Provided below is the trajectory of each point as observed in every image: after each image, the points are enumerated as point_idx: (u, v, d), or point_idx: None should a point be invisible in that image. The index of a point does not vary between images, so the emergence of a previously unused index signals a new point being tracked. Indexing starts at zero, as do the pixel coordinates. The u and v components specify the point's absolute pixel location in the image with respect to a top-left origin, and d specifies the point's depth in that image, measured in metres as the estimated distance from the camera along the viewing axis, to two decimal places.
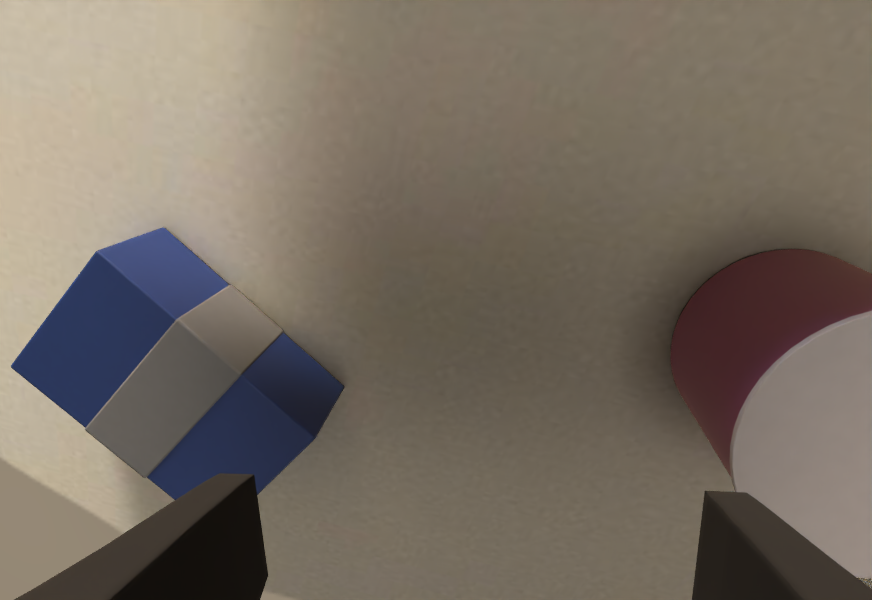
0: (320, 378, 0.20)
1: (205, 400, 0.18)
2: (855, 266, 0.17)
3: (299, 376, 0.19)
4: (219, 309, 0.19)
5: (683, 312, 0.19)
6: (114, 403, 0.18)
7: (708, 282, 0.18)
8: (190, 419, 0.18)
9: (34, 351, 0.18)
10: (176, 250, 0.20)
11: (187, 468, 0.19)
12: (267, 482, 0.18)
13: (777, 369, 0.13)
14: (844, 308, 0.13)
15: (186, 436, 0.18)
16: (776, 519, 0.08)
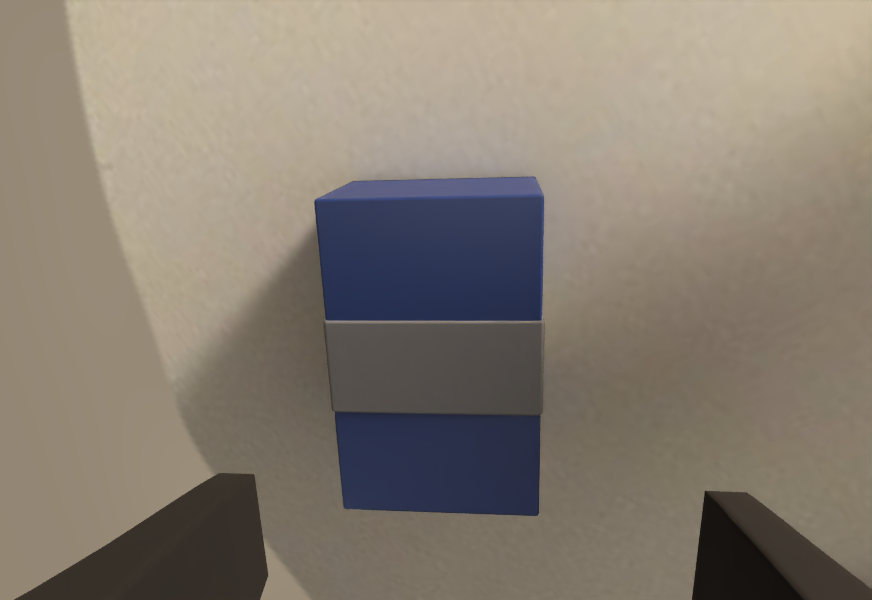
0: None
1: (479, 404, 0.14)
2: None
3: None
4: None
5: None
6: (384, 327, 0.14)
7: None
8: (443, 406, 0.15)
9: (360, 212, 0.13)
10: None
11: (387, 439, 0.15)
12: (448, 511, 0.15)
13: None
14: None
15: (421, 415, 0.15)
16: (775, 519, 0.08)
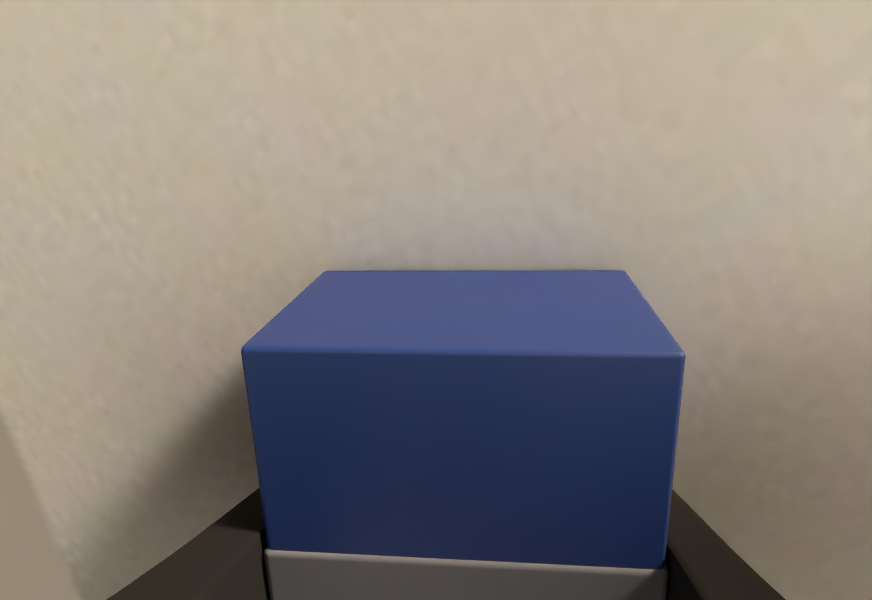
0: None
1: None
2: None
3: None
4: None
5: None
6: (374, 566, 0.08)
7: None
8: None
9: (327, 373, 0.07)
10: None
11: None
12: None
13: None
14: None
15: None
16: (691, 516, 0.08)
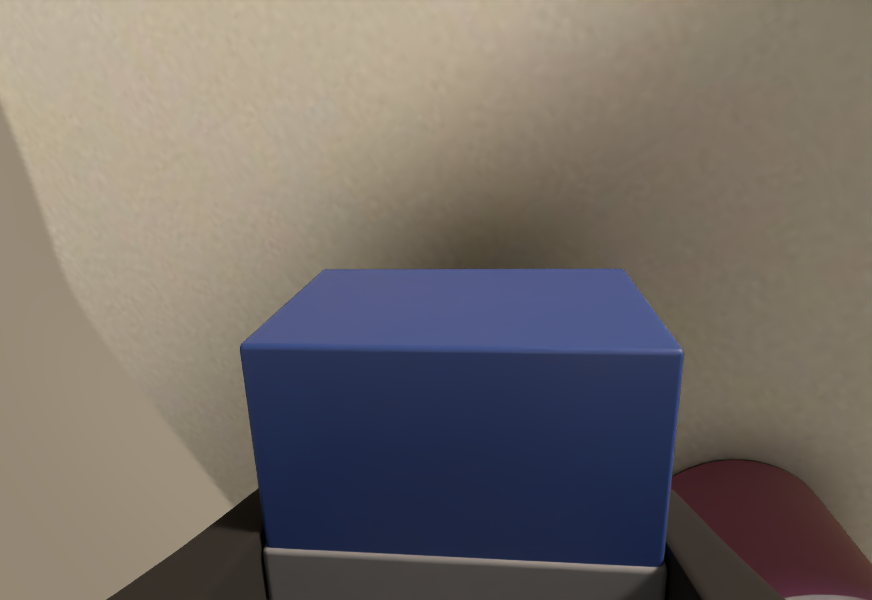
0: None
1: None
2: None
3: None
4: None
5: (701, 467, 0.20)
6: (372, 564, 0.08)
7: (739, 462, 0.19)
8: None
9: (326, 371, 0.07)
10: None
11: None
12: None
13: None
14: None
15: None
16: (692, 515, 0.08)
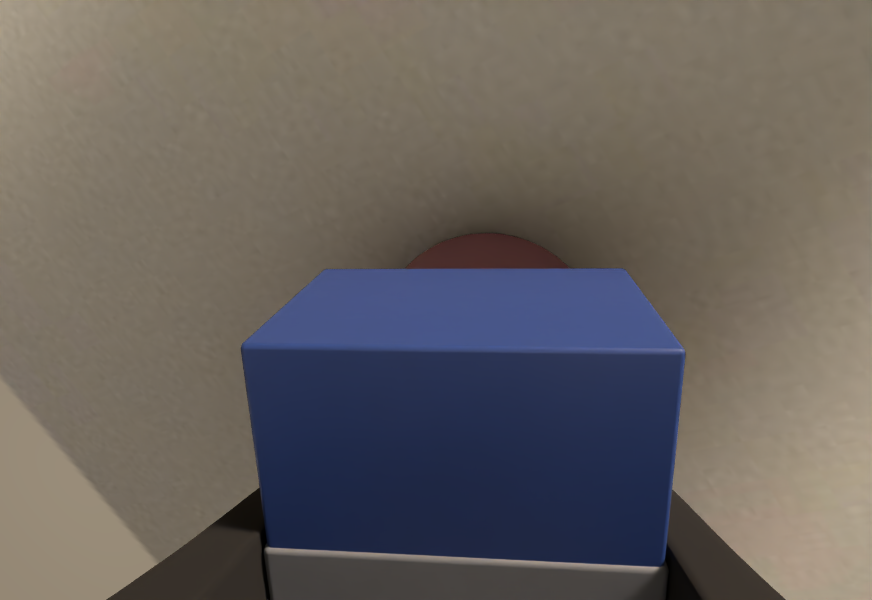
0: None
1: None
2: None
3: None
4: None
5: (442, 242, 0.17)
6: (373, 564, 0.08)
7: (482, 234, 0.17)
8: None
9: (327, 370, 0.07)
10: None
11: None
12: None
13: None
14: None
15: None
16: (691, 516, 0.08)
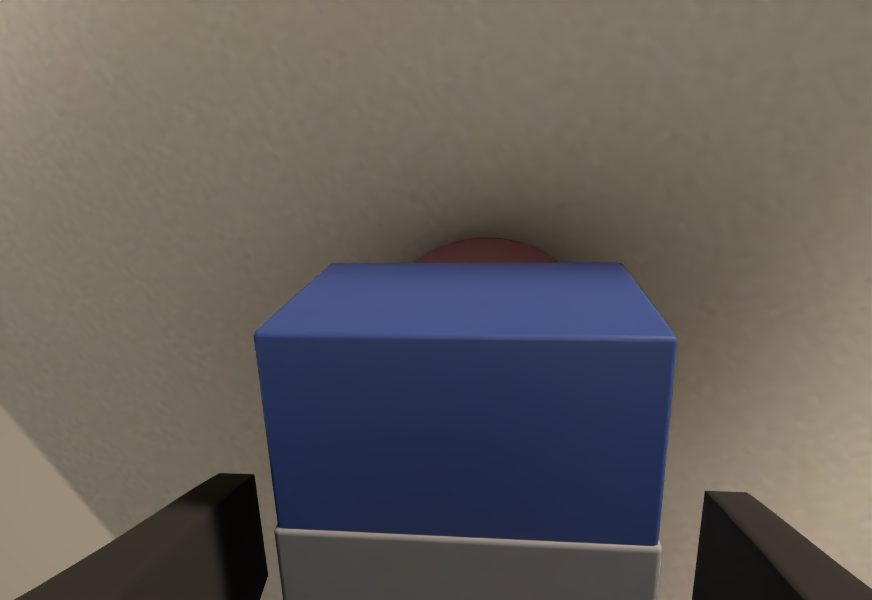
0: None
1: None
2: None
3: None
4: None
5: (440, 247, 0.17)
6: (379, 543, 0.08)
7: (482, 239, 0.16)
8: None
9: (336, 357, 0.07)
10: None
11: None
12: None
13: None
14: None
15: None
16: (775, 519, 0.08)
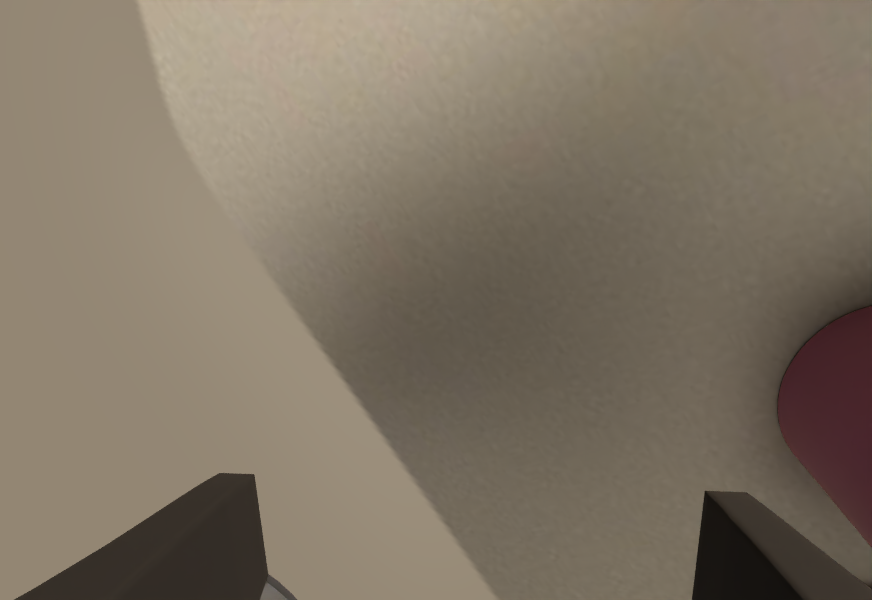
0: None
1: None
2: None
3: None
4: None
5: (864, 309, 0.18)
6: None
7: None
8: None
9: None
10: None
11: None
12: None
13: None
14: None
15: None
16: (774, 519, 0.08)
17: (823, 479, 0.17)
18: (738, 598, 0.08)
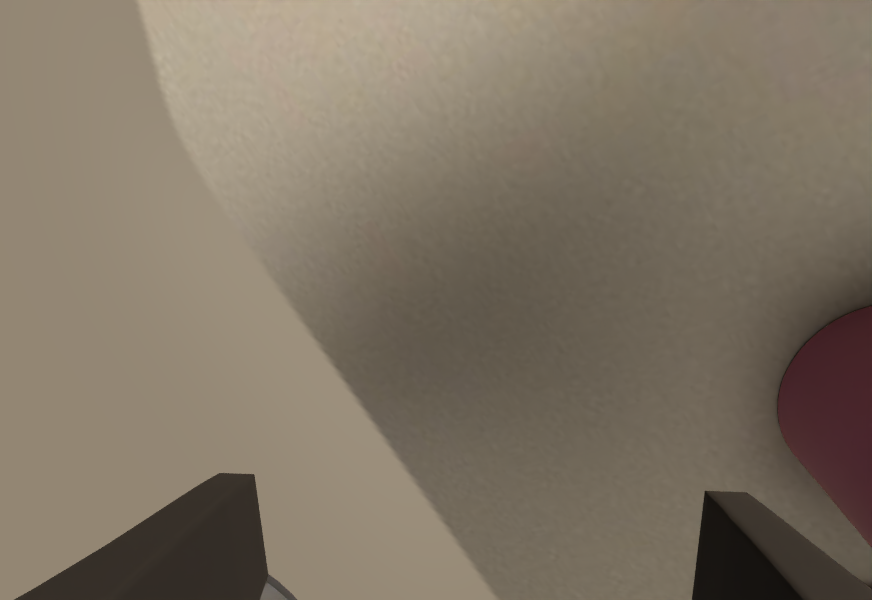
0: None
1: None
2: None
3: None
4: None
5: (864, 309, 0.18)
6: None
7: None
8: None
9: None
10: None
11: None
12: None
13: None
14: None
15: None
16: (774, 519, 0.08)
17: (823, 479, 0.17)
18: (738, 598, 0.08)
